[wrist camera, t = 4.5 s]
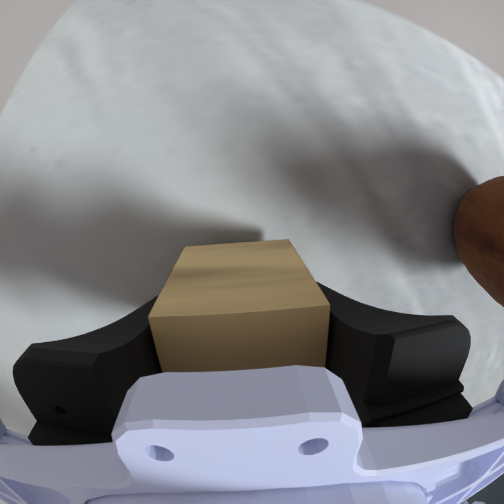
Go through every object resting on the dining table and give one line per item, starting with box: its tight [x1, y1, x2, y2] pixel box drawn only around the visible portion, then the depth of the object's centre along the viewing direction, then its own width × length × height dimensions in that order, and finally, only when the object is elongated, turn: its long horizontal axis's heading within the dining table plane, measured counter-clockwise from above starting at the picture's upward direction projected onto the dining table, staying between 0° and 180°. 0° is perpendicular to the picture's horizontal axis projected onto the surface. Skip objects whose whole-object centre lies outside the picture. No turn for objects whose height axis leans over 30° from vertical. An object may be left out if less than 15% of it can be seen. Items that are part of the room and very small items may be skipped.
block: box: [148, 239, 330, 373], centre depth 10 cm, size 4×4×6 cm
